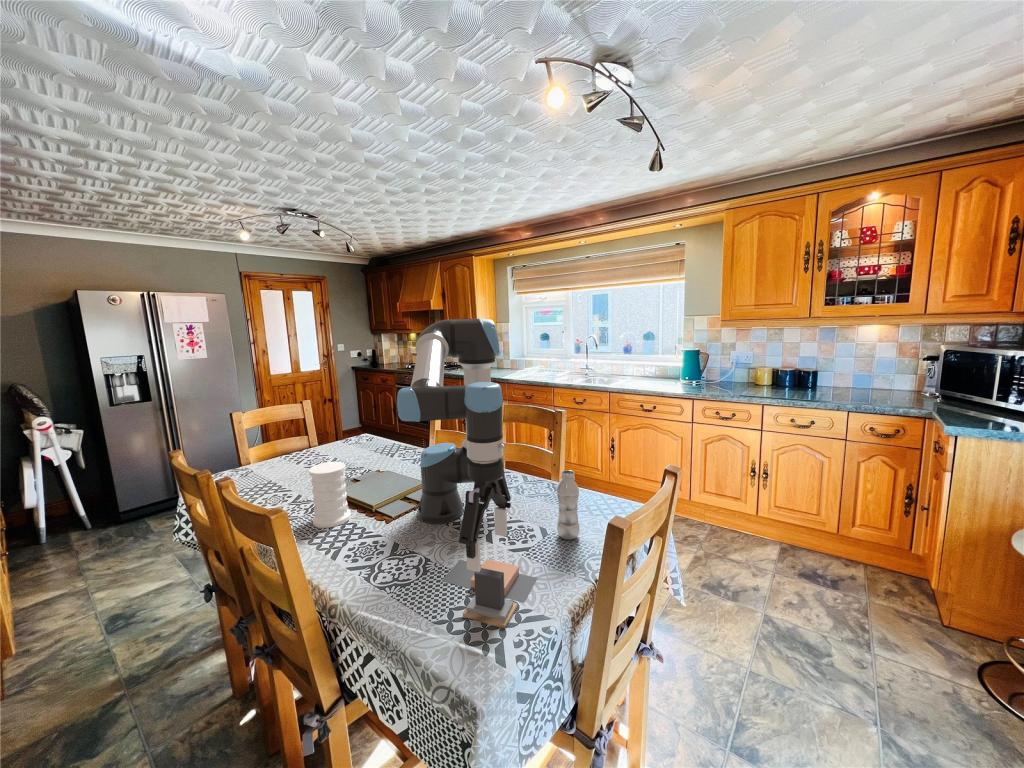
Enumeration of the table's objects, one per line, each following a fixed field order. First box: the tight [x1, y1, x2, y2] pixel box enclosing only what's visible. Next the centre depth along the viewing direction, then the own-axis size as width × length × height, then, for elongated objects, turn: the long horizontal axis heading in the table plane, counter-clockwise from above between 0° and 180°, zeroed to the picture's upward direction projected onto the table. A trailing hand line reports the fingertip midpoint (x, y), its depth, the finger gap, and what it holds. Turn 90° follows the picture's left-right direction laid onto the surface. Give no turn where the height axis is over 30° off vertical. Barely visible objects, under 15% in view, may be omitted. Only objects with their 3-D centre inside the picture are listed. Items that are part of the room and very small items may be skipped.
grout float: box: [466, 568, 514, 621], centre depth 87 cm, size 9×5×8 cm, turn 70°
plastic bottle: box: [556, 469, 580, 541], centre depth 118 cm, size 6×7×20 cm
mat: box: [440, 559, 539, 603], centre depth 99 cm, size 22×10×1 cm, turn 68°
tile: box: [470, 558, 520, 596], centre depth 98 cm, size 2×9×9 cm
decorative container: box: [308, 461, 352, 529], centre depth 132 cm, size 12×12×18 cm
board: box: [462, 602, 518, 630], centre depth 88 cm, size 10×7×1 cm
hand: (488, 551), depth 87 cm, fingers open, 13 cm apart
